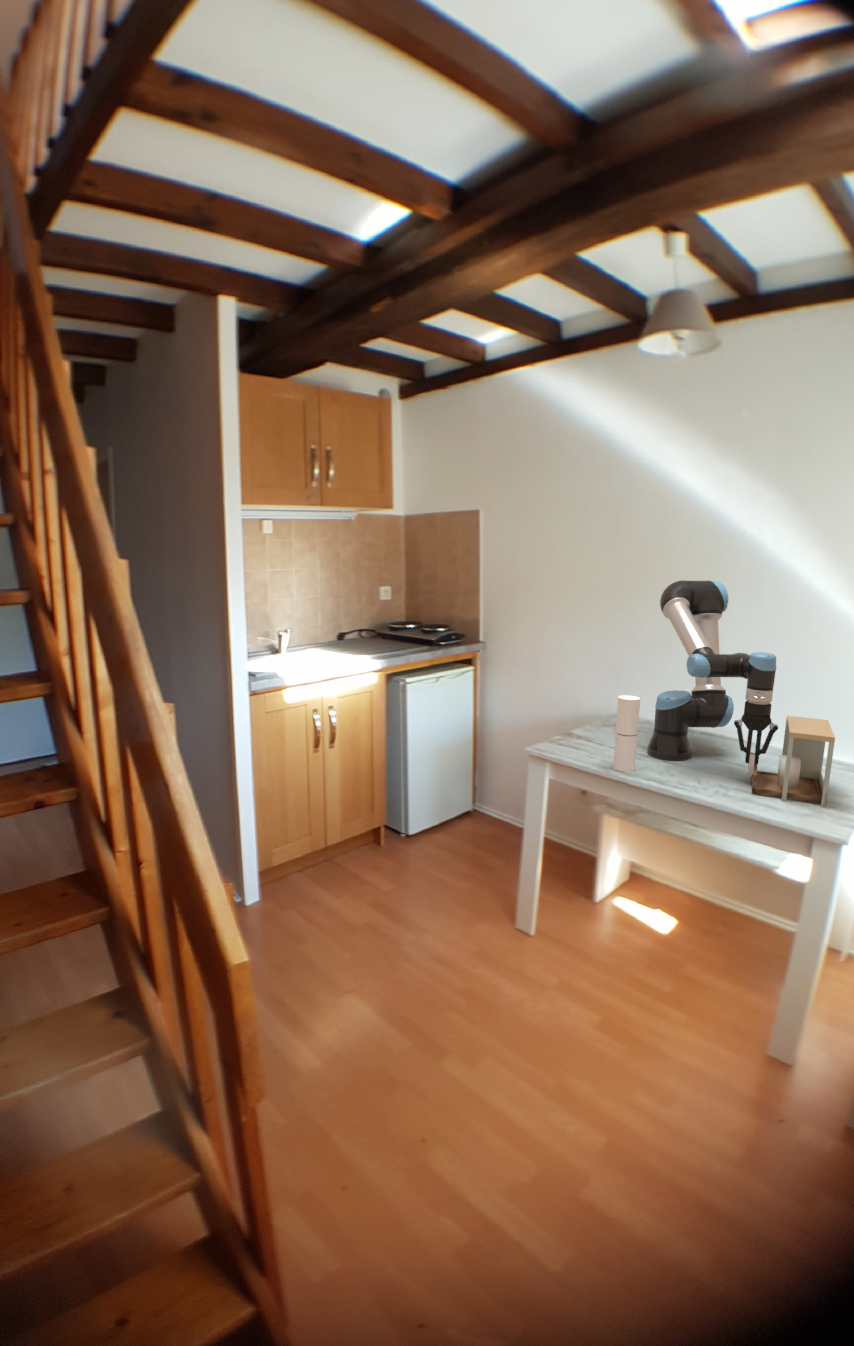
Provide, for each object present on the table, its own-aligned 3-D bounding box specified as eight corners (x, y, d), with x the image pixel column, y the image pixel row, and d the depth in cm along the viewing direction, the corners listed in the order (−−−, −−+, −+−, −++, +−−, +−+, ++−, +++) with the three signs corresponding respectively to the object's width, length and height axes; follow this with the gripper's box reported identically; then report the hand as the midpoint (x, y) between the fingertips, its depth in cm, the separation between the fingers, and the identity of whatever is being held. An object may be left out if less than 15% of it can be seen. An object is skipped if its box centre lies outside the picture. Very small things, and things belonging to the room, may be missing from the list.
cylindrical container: (623, 773, 227) (628, 700, 222) (608, 766, 233) (613, 696, 228) (639, 770, 230) (644, 698, 225) (624, 764, 236) (629, 694, 231)
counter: (781, 800, 204) (789, 732, 200) (779, 778, 224) (786, 715, 220) (825, 807, 199) (835, 737, 195) (819, 784, 219) (827, 720, 215)
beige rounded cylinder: (779, 787, 211) (781, 760, 209) (775, 781, 216) (777, 754, 214) (800, 789, 209) (803, 761, 207) (796, 783, 214) (798, 755, 213)
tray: (751, 793, 209) (753, 774, 208) (751, 775, 225) (753, 757, 224) (821, 803, 201) (824, 784, 200) (816, 784, 217) (819, 766, 216)
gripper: (735, 701, 212) (727, 773, 216) (782, 706, 206) (773, 779, 211) (736, 697, 218) (728, 766, 223) (781, 701, 213) (772, 772, 217)
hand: (750, 772), depth 217 cm, fingers closed
